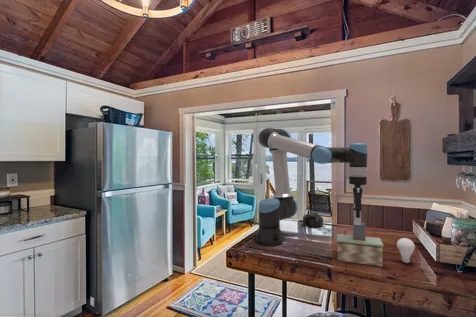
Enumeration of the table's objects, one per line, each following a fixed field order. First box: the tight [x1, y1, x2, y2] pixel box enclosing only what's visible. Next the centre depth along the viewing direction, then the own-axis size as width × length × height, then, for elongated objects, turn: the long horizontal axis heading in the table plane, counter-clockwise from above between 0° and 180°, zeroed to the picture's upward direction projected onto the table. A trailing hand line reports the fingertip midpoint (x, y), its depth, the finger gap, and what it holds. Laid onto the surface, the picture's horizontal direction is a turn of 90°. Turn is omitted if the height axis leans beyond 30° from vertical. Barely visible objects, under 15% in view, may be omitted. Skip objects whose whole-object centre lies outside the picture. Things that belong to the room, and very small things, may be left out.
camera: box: [302, 211, 324, 229], centre depth 170 cm, size 13×10×10 cm
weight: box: [352, 221, 366, 241], centre depth 117 cm, size 5×5×7 cm
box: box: [337, 242, 383, 267], centre depth 118 cm, size 18×11×8 cm, turn 67°
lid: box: [336, 233, 385, 248], centre depth 117 cm, size 19×11×1 cm, turn 67°
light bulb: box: [396, 237, 416, 264], centre depth 112 cm, size 7×7×11 cm
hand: (357, 220), depth 119 cm, fingers open, 13 cm apart
